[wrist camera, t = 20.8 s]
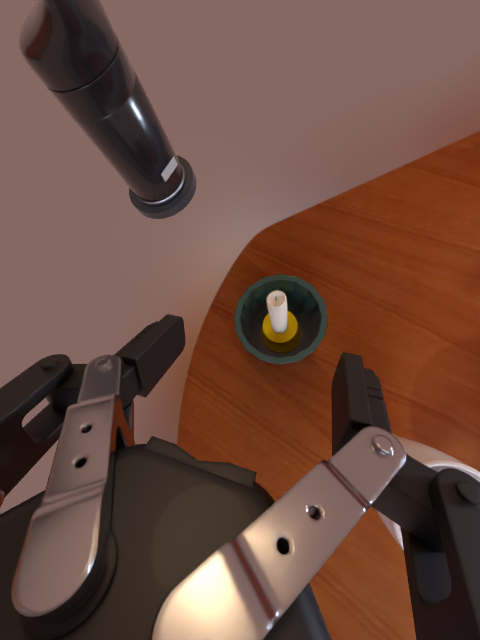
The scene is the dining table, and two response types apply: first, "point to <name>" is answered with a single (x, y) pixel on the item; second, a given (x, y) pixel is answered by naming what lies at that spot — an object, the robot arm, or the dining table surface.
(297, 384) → the dining table surface
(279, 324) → the candle
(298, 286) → the cup
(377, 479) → the robot arm
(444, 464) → the drinking glass
